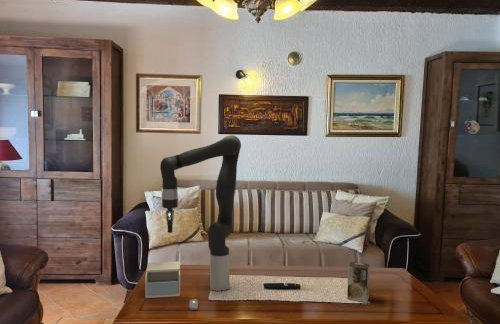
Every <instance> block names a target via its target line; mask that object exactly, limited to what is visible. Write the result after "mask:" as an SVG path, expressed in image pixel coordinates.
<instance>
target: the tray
mask: <svg viewBox="0 0 500 324" xmlns="http://www.w3.org/2000/svg"><path fill="white" fill-rule="evenodd" d="M162 280H167V281H169V282H159V281H162ZM178 286H179V278H174V279H154V280H150V281H149V283H147V296H148V295H166V294H178Z"/></svg>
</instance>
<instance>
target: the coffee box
mask: <svg viewBox="0 0 500 324" xmlns="http://www.w3.org/2000/svg"><path fill="white" fill-rule="evenodd" d="M370 265H371V264H368V263H363V262H355V261H350V262H349V264H348V266H347V298H346V299H347V300H349V301H357V302H361V303H362V302H363V303H368V301H369V298H370V297H369V295H370V292H369V291H370Z"/></svg>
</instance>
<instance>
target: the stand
mask: <svg viewBox="0 0 500 324" xmlns="http://www.w3.org/2000/svg"><path fill="white" fill-rule="evenodd" d="M198 309H199V300H198V299H197V298H193V299H189V310H190V311H192V312H193V311H197V310H198Z"/></svg>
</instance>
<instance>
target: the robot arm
mask: <svg viewBox="0 0 500 324" xmlns="http://www.w3.org/2000/svg"><path fill="white" fill-rule="evenodd" d="M241 148H242V143H241V140H240V139H239V137H238V136H235V135H231V134H230V135H227V136H225V137H223V138H221V139H220V140H218V141H216V142H214V143H211V144H209V145H206V146H202V147H198V148H192V149H189V150H187V151H184V152H181V153H179V154H176V155H172V156H168V157H164V158H162V160H161V161H160V166H159V167H160V173H161V179H162V190H161V191H162V192H161V195H162V196H161V207H162V208H163V209H167V210H165V216H166V225H167V233H168V234H171V233H173V224H174V214H175V210H173V209H176V208H178V205H179V201H178V199H179V198H178V195H179V193H178V178H177V177H176V175H175V171H177V170H179V169H182V168H184V167H190V166H193V165H197V164H199V163H201V162H202V163H203V162H205V161H208V160H210V159H214V158H218V157H222V162H221V167H220V169H219V173H218V176H217V180H216V185H215V186H216V187H215V197H216V202H217V205H218V215H217V219H216V221H215V222H212V223H211V224H210V225H209V226H208V231H207V237H208V248H209V251H210V252H209V264H210V265H209V288H210V290H211V291H215V290H216V291H215V292H222V291H221V290H223V291H227V290H230V248H229V247H228V246H227V245H226V238H228V237H229V236H231V233H232V231H233V209H234V201H235V195H236V194H235V193H236V185H237V172H238V169H237V167H238V160H239V157H240V153H241ZM226 289H227V290H226Z"/></svg>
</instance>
